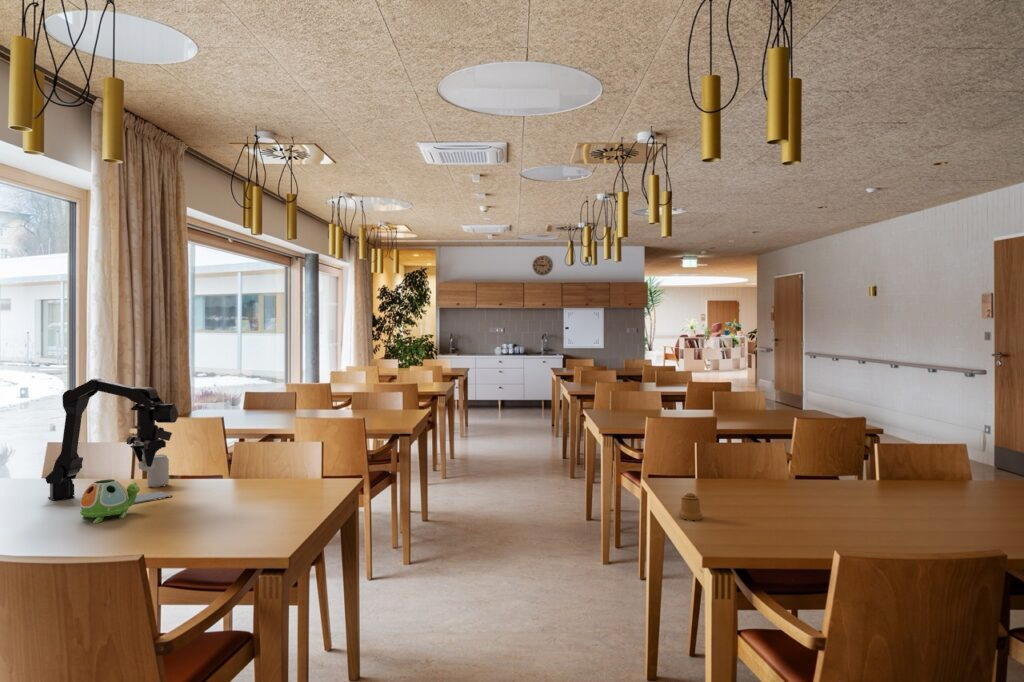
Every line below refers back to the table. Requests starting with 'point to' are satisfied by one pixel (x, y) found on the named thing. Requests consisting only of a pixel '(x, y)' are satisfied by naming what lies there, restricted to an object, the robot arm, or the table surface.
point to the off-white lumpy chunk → (145, 465)
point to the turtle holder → (107, 499)
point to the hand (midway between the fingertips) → (145, 465)
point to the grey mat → (150, 496)
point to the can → (159, 472)
